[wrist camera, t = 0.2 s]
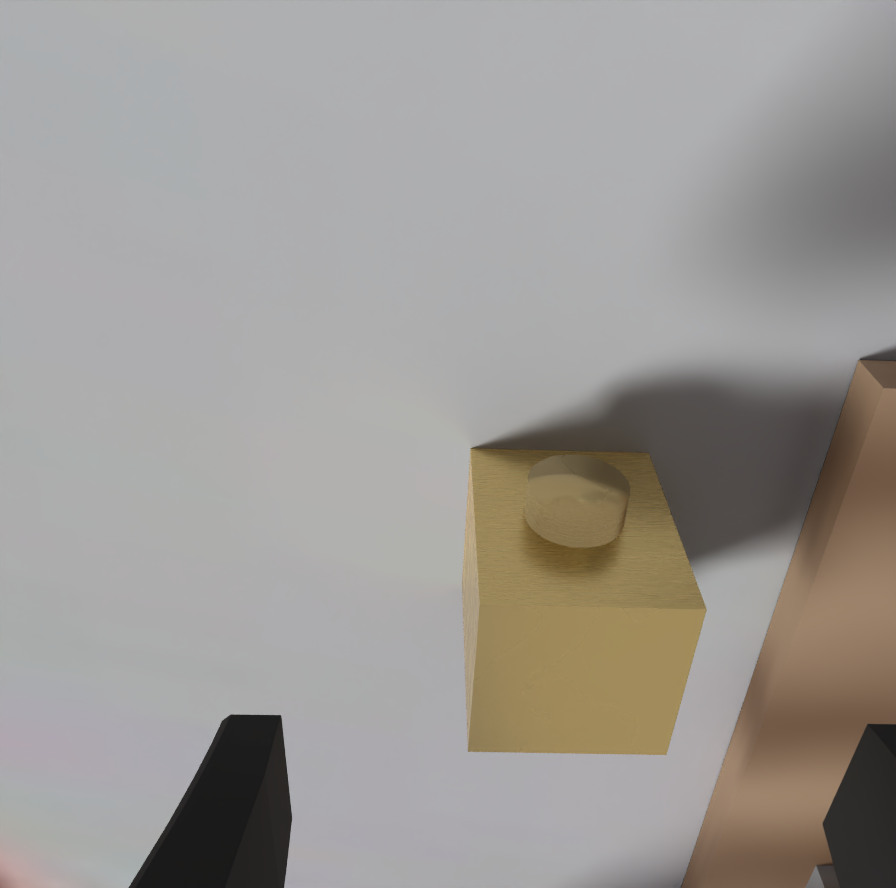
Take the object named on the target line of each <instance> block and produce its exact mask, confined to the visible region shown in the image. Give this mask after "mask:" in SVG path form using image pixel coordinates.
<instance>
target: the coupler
mask: <svg viewBox="0 0 896 888" xmlns="http://www.w3.org/2000/svg"><path fill="white" fill-rule="evenodd" d="M462 594H463V623H464V652H465V680H466V709H467V738H468V752H524V753H585V754H647V755H666V754H667V751H668V747H669V743H670V740H671V736H672V733H673V729H674V725H675V722H676V718H677V714H678V711H679V707H680V704H681V700H682V696H683V693H684V689H685V686H686V682H687V678H688V675H689V671H690V668H691V664H692V660H693V657H694V653H695V649H696V646H697V642H698V639H699V635H700V631H701V628H702V624H703V621H704V617H705V613H706V610H707V609H706V607H705V604H704V601H703V598H702V596H701V593H700V590H699V588H698V585H697V582H696V579H695V577H694V574H693V571H692V569H691V566H690V563H689V561H688V558H687V555H686V552H685V550H684V547H683V544H682V542H681V539H680V536H679V534H678V531H677V528H676V525H675V523H674V520H673V517H672V515H671V512H670V509H669V506H668V504H667V501H666V498H665V496H664V493H663V490H662V488H661V485H660V482H659V479H658V477H657V474H656V471H655V469H654V466H653V463H652V461H651V458H650V455H649V453H631V452H593V451H555V450H517V449H479V448H471V450H470V466H469V482H468V497H467V513H466V529H465V545H464V561H463V577H462Z"/></svg>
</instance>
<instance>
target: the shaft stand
mask: <svg viewBox="0 0 896 888" xmlns="http://www.w3.org/2000/svg"><path fill="white" fill-rule="evenodd" d="M867 724H896V361H875V360H859V361H858V364H857V367H856V370H855V373H854V376H853V379H852V382H851V385H850V387H849V390H848V393H847V396H846V399H845V402H844V405H843V408H842V411H841V414H840V417H839V420H838V423H837V426H836V429H835V432H834V435H833V438H832V441H831V444H830V447H829V450H828V453H827V456H826V459H825V462H824V465H823V468H822V471H821V474H820V477H819V480H818V483H817V486H816V489H815V491H814V494H813V497H812V500H811V503H810V506H809V509H808V512H807V515H806V518H805V521H804V524H803V527H802V530H801V533H800V536H799V539H798V542H797V545H796V548H795V551H794V554H793V557H792V560H791V563H790V566H789V569H788V572H787V575H786V578H785V581H784V584H783V587H782V590H781V593H780V596H779V598H778V601H777V604H776V607H775V610H774V613H773V616H772V619H771V622H770V625H769V628H768V631H767V634H766V637H765V640H764V643H763V646H762V649H761V652H760V655H759V658H758V661H757V664H756V667H755V670H754V673H753V676H752V679H751V682H750V685H749V688H748V691H747V694H746V697H745V700H744V702H743V705H742V708H741V711H740V714H739V717H738V720H737V723H736V726H735V729H734V732H733V735H732V738H731V741H730V744H729V747H728V750H727V753H726V756H725V759H724V762H723V765H722V768H721V771H720V774H719V777H718V780H717V783H716V786H715V789H714V792H713V795H712V798H711V801H710V804H709V807H708V809H707V812H706V815H705V818H704V821H703V824H702V827H701V830H700V833H699V836H698V839H697V842H696V845H695V848H694V851H693V854H692V857H691V860H690V863H689V866H688V869H687V872H686V875H685V878H684V881H683V884H682V887H681V888H840V886H839V883H838V880H837V876H836V873H835V869H834V866H833V862H832V858H831V854H830V851H829V847H828V843H827V839H826V836H825V832H824V828H823V824H822V823H823V821H824V819H825V817H826V815H827V812H828V810H829V808H830V806H831V803H832V801H833V799H834V797H835V795H836V792H837V790H838V788H839V786H840V784H841V781H842V779H843V777H844V775H845V772H846V770H847V768H848V766H849V764H850V761H851V759H852V757H853V755H854V753H855V750H856V748H857V746H858V744H859V741H860V739H861V737H862V735H863V733H864V730H865V728H866V726H867Z"/></svg>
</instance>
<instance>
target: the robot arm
mask: <svg viewBox="0 0 896 888" xmlns="http://www.w3.org/2000/svg"><path fill="white" fill-rule="evenodd" d="M291 822H292V813H291V804H290V794H289V785H288V775H287V766H286V757H285V747H284V738H283V728H282V719H281V715H230V716H228V717H227V718H225V719H224V720H223V721H222V723H221V725H220V727H219V729H218V731H217V733H216V735H215V737H214V740H213V742H212V744H211V746H210V748H209V750H208V752H207V754H206V755H205V757H204V759H203V761H202V763H201V765H200V767H199V769H198V771H197V773H196V775H195V777H194V778H193V780H192V782H191V784H190V786H189V788H188V789H187V791H186V793H185V795H184V796H183V798H182V800H181V802H180V803H179V805H178V807H177V809H176V810H175V812H174V814H173V816H172V817H171V819H170V821H169V823H168V824H167V826H166V828H165V830H164V831H163V833H162V834H161V836H160V838H159V839H158V841H157V843H156V844H155V846H154V847H153V849H152V851H151V852H150V854H149V856H148V857H147V859H146V860H145V862H144V864H143V865H142V867H141V869H140V870H139V872H138V873H137V875H136V877H135V878H134V880H133V882H132V883H131V885H130V886H129V888H284V883H285V875H286V867H287V858H288V849H289V840H290V831H291ZM822 824H823V828H824V832H825V836H826V839H827V843H828V847H829V851H830V854H831V858H832V862H833V866H834V869H835V873H836V876H837V880H838V883H839V886H840V888H896V724H867V726H866V728H865V730H864V733H863V735H862V737H861V739H860V741H859V744H858V746H857V748H856V750H855V753H854V755H853V757H852V759H851V761H850V764H849V766H848V768H847V770H846V772H845V775H844V777H843V779H842V781H841V784H840V786H839V788H838V790H837V792H836V795H835V797H834V799H833V801H832V803H831V806H830V808H829V810H828V812H827V815H826V817H825V819H824V821H823V823H822Z"/></svg>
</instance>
